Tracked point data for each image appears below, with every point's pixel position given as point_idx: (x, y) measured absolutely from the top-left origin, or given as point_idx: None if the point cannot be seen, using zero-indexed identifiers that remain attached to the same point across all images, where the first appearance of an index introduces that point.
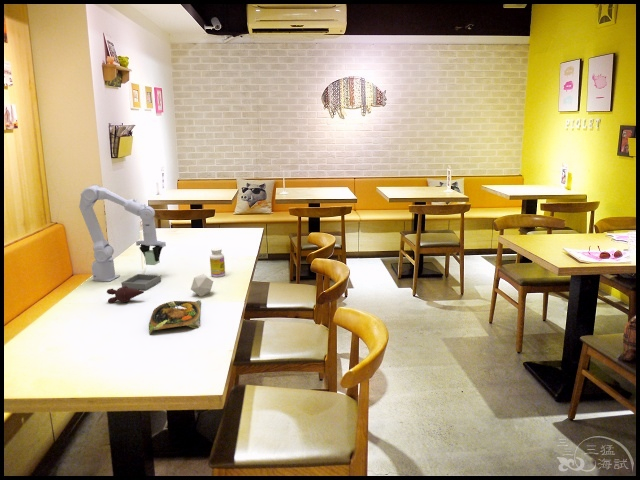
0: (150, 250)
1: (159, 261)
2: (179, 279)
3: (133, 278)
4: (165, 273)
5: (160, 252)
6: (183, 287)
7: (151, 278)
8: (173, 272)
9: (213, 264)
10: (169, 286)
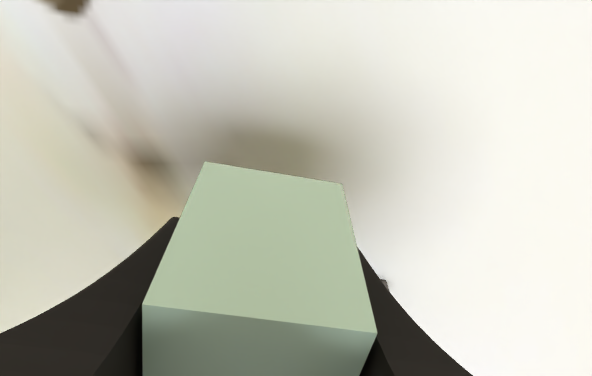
0: (183, 343)
1: (342, 194)
2: (525, 234)
3: None
4: (359, 72)
5: (422, 334)
6: (559, 359)
7: None
8: (442, 34)
9: None
10: (466, 348)
